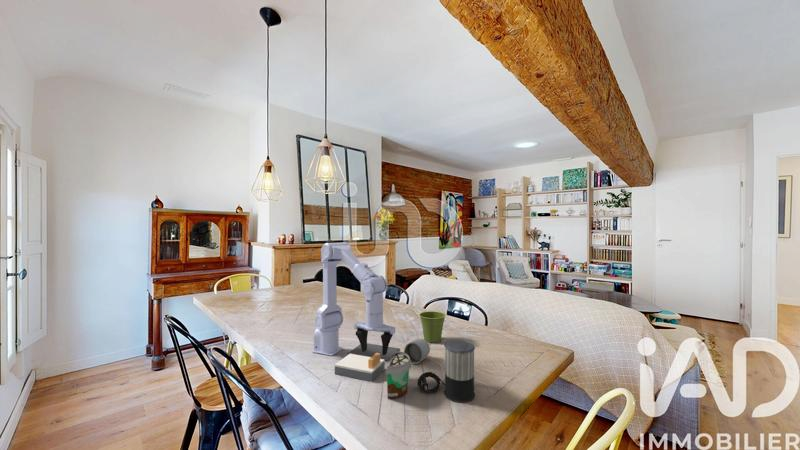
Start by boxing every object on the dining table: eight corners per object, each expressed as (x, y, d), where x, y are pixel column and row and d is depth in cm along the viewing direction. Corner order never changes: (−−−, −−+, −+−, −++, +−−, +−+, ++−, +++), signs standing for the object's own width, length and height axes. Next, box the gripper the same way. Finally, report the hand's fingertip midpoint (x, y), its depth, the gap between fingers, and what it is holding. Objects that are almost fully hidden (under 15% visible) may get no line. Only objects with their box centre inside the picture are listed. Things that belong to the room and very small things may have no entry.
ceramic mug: (431, 358, 121) (431, 337, 121) (422, 366, 114) (422, 344, 114) (406, 353, 126) (406, 333, 126) (396, 360, 119) (396, 340, 119)
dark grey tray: (334, 374, 108) (334, 366, 108) (349, 362, 117) (349, 355, 117) (371, 381, 102) (371, 373, 102) (384, 368, 112) (384, 361, 112)
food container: (407, 404, 90) (407, 368, 90) (386, 401, 91) (386, 366, 91) (414, 382, 102) (414, 351, 102) (395, 380, 103) (395, 350, 103)
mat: (347, 354, 124) (347, 353, 124) (362, 343, 135) (362, 342, 135) (387, 361, 118) (387, 360, 118) (399, 349, 129) (399, 348, 129)
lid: (334, 368, 108) (334, 356, 108) (349, 356, 117) (349, 345, 117) (371, 375, 102) (371, 363, 102) (384, 363, 112) (384, 351, 112)
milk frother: (481, 400, 92) (481, 349, 92) (430, 409, 87) (430, 355, 87) (458, 377, 105) (458, 333, 105) (413, 384, 101) (413, 337, 101)
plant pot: (450, 338, 141) (450, 313, 141) (438, 347, 131) (438, 320, 131) (426, 333, 148) (426, 309, 148) (414, 341, 138) (414, 315, 138)
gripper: (349, 313, 107) (349, 353, 107) (389, 317, 101) (389, 360, 101) (360, 308, 113) (360, 346, 113) (397, 312, 108) (397, 352, 108)
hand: (374, 352), depth 108 cm, fingers open, 7 cm apart
